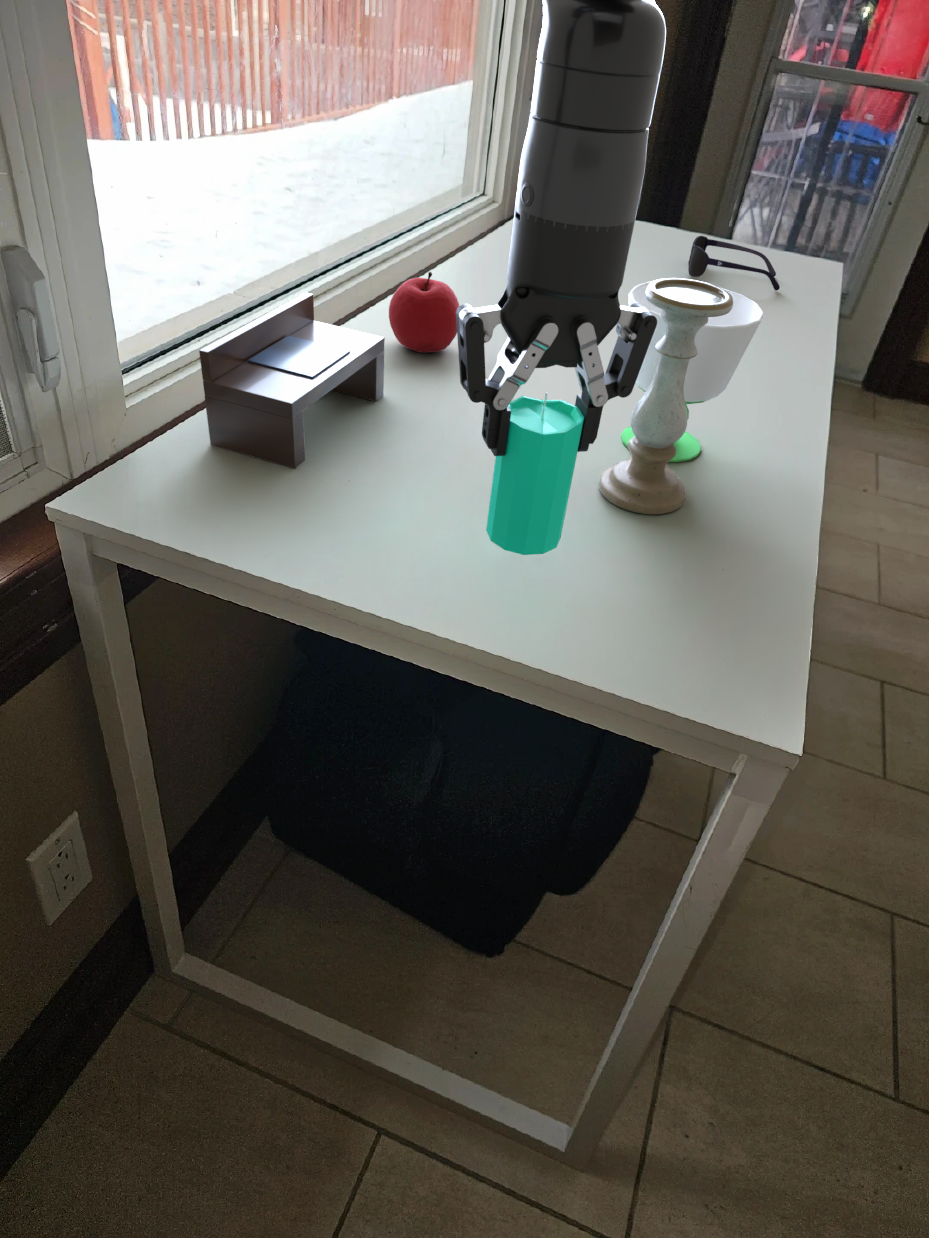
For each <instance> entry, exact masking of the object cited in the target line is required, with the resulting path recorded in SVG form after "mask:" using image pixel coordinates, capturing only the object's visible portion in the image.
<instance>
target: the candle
mask: <svg viewBox="0 0 929 1238" xmlns="http://www.w3.org/2000/svg"><path fill="white" fill-rule="evenodd" d="M508 407H509V408H510V410H511V417H510V425H509V432H508V439H507V447H506V454H505V456H495V459H494V467H493V476H492V483H491V491H490V499H489V505H488V506H489V507H488V514H487V521H486V529H485V531H486V533H487V535H488V537H489V540H490V541H491V542H492V543H493V544H494V545H496V546H497V547H499V548H501V549H502V550H504V551H507V552H510V553H514V554H519V555H523V556H528V555H529V556H530V555H531V556H533V555H544V554H546V553H548V552H550V551H553V550H555V549H557V547H558V544H559V542H560V541H561V537H562V534H563V533H562V532H563V527H564V522H565V518H566V512H567V507H568V501H569V497H570V493H571V492H570V491H571V487H572V483H573V477H574V472H575V466H576V462H577V457H578V453H579V452H578V447H579V442H580V437H581V432H582V427H583V422H584V416H583V414H582V413H581V411H580V410H579V408H578V407H577V406H575V404H572V403H571V402H568V401H565V400H564V399H548V391H546V392H545V393H544V399H540V398H534V397H531V396H525V395H521V396H519V397H517V398H515V399H513V400H512V401H511V402H510V404H509V406H508Z"/></svg>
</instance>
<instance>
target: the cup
mask: <svg viewBox="0 0 929 1238" xmlns="http://www.w3.org/2000/svg"><path fill="white" fill-rule="evenodd" d="M653 281H654V280H650V281H647V282H643V283H640V284H635V286H633V288H632V289H631V290H630V291H629V292H628V300H627V301H628V302H627V303H628V306H627V307H630V306H631V305H632V304H634V303H639V304H641V305H642V306H643V307H644V308H645V309H646V310H648V311H649V312H650V313H651V314H652V315H654V316H655V317H656V319H657V326H656V329H655V331H654V334H653V337H652V339H651V342H650V345H649V347H648V350H647V353H646V355H645V358H644V361H643V363H642V366H641V369H640V371H639V374H638V377H637V380H636V382H635V385H636V386H637V387H638V389H640V390H641V391H643V392H644V393H645V392H646V391H647V389H648V388H649V386H650V384H651V382H652V380H653V377H654V374H655V371H656V367H657V363H658V359H659V352H658V351H657V350H656V348H655V345H656V344H657V343H658V342H659V341H660V340H661V338H662V337H663V336H664V334H665V331H666V326H665V322H664V320H663V319H662V317H661V311H662V309H660V308H658V307H656V306H654V305H653V304H651V303H650V302H649V301H648V300H647V299H646V296H645V293H646V289H647V287H648V285H649V284H650V283H651V282H653ZM719 287H720V288H722V289H724V290H726V291H727V292H729V293H730V294H731V296H732V298H733V307H732V309H731V311H730V312H729V313H727V314H725V315H722V316H718V317H709V319H708V322H707V324H706V325H705V326H703V327H702V328H700V329H699V330H698V332H697V333H696V335H695V339H694V342H695V345H696V348H697V355H696V356H695V357H694V358H690V361H689V364H688V367H687V372H686V376H685V381H684V399H685V404H686V409H687V422H689V421H688V420H689V418H690V417H689V416H690V410H689V408H688V405H692V404H693V405H694V404H701V403H704V402H707V401H710V400H712V399H715V398H716V397H718V396H720V394H722V393H723V392H724V391H725V390H726V389H727V387H728V385H729V384H730V381H731V379H732V377H733V375H734V374H735V371H736V370H737V368H738V366H739V364H740V362H741V361H742V358H743V356H744V354H745V352H746V351H747V349H748V347H749V345H750V343H751V341H752V340H753V337H754V335H755V333H756V332H757V330H758V328H759V327H760V324H761V322H762V320H763V318H764V315H765V312H764V311H763V310H762V308H761V307H760V306H759V304H758V303H757V302H756V301H754V300H753V299H751V298H748V296H747V297H746V296H745V295H743V294H742V293H739V292H735V291H732V290H729V289H727V288H724V287H721V286H719ZM633 437H635V435H634V433H633V431H632V429H631V425H629V426H628V427H626V428H624V429H623V431H622V432H621V434H620V438H621V440H622V444H623V445H624V446H626V447H627V448H628V442H629V440H630V439H631V438H633ZM673 444H674V446H675V447H676V455H675V457H674V458H672V459H671V460H670V461H669V462H668V463H681V462H687V461H690V460H693V459H694V458H696V457H698V456H699V454H700V452H701V450H702V446H701V444H700V441H699V440H698V439H697V438H696V437H695V436H693V435H692V434H691V433H690V432H687V431H685V432H684V434H683V436H682V437H681V438H680V439H679V440H678V441H676V442H675V443H673Z"/></svg>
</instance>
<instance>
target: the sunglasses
mask: <svg viewBox="0 0 929 1238" xmlns="http://www.w3.org/2000/svg"><path fill="white" fill-rule="evenodd" d="M708 246H710V247H715V248H716V247H717V248H723V249H729V250H735V251H741V252H745V253H749V254H753V255H755V256H758V257H759V258H760V259H762V260H763V261H764V263H765V266H766V267H767V270H765V269H763V268H757V267H753V266H748V265H744V264H740V263H736V262H731V261H726V260H722V259H717V258H711V257H710V256H709V254H708V253H707V252H706V250H707V248H708ZM689 254H690V255H689V260H688V275H689V276H690V277H691V278H698V277H701V276H702V275H703V274H704V273H705V272H706V270H707V267H708V265H709V266H713V267H714V266H715V267H720V268H727V269H734V270H740V271H748V272H754V273H759V274H762V275H765V276H767V277H768V279H769V281H770V283H771V285H772V287H773V290H774V291H778V290H780V288H781V287H780V284H779V282H778V281H777V279H776V278H775V277H776V275H777V272H776V270H775V268H774V267H773V265H772V262H771V261H770V259H769V258H768V257H767V255H765V254H763V253H762V252H761V251H758V250H755V249H752V248H749V247H746V246H742V245H740V244H739V245H738V244H734V243H730V242H726V241H721V240H718V239H717V240H716V239H711V238H708V237H707V236H705V235H698V236H696V237H695V239H694V240H693V242H692V246H691V249H690V253H689Z"/></svg>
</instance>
